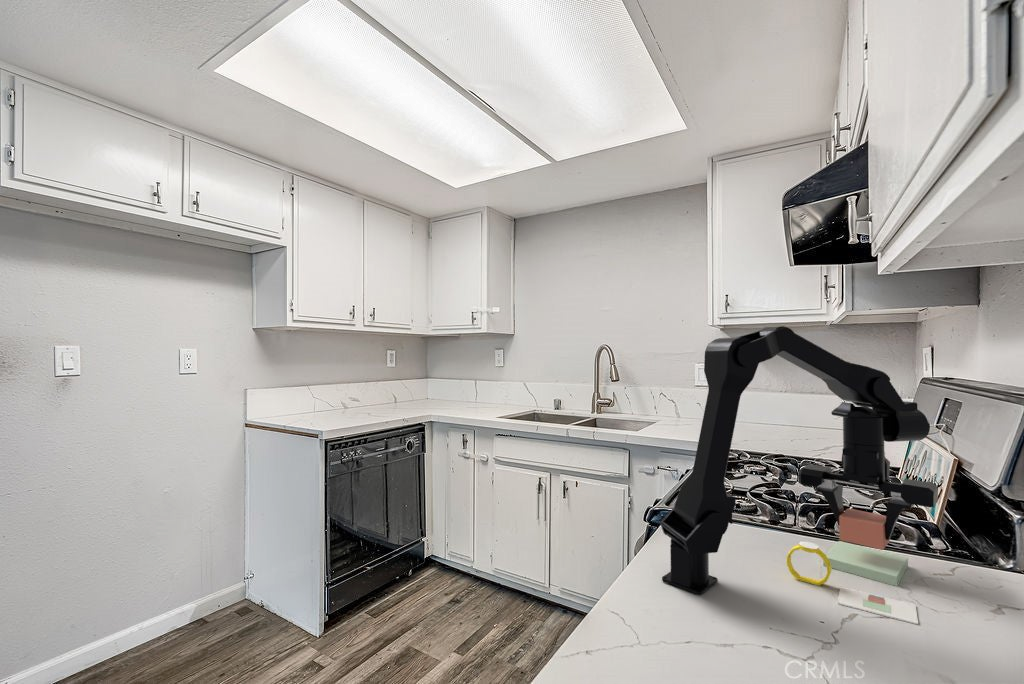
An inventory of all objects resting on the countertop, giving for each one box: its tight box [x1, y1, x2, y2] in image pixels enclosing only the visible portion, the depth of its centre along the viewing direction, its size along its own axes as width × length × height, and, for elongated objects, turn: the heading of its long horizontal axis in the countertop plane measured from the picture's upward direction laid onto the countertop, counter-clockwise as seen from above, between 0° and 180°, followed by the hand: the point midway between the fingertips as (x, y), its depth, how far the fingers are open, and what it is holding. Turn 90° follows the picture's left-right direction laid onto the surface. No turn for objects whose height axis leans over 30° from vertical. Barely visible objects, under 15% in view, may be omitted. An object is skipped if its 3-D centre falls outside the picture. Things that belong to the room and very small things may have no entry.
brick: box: [838, 507, 891, 551], centre depth 83 cm, size 6×6×4 cm
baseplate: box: [822, 540, 909, 587], centre depth 83 cm, size 10×10×2 cm
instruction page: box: [837, 586, 919, 626], centre depth 70 cm, size 6×9×1 cm, turn 53°
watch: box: [786, 541, 832, 587], centre depth 78 cm, size 6×3×6 cm, turn 49°
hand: (864, 534), depth 83 cm, fingers closed on brick, 6 cm apart
